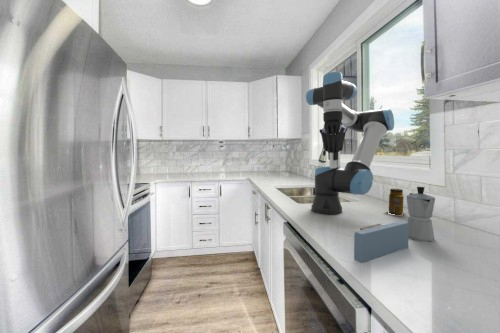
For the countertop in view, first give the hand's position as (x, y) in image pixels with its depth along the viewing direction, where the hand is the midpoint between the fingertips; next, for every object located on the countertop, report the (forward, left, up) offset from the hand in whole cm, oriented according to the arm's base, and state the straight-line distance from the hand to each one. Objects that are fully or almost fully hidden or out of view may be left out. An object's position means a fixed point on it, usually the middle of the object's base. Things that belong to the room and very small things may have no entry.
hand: (333, 167), depth 104 cm
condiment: (-38, +4, -24) cm, 45 cm away
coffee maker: (-14, +27, -24) cm, 38 cm away
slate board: (+11, +30, -24) cm, 40 cm away
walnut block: (+4, +24, -24) cm, 34 cm away
